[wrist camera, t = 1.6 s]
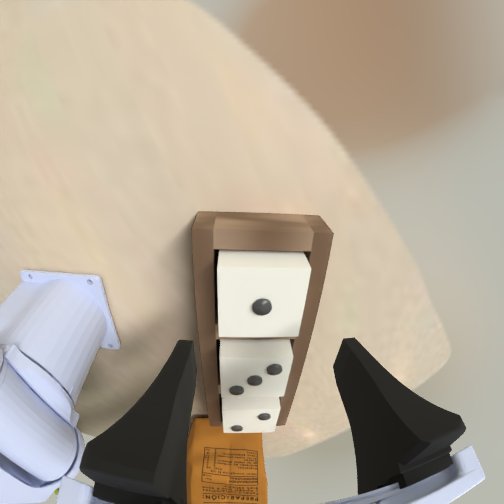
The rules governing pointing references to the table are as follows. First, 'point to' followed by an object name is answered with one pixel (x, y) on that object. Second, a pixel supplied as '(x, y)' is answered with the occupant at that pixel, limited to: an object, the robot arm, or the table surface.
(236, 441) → the coffee package
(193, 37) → the table surface
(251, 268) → the tile one
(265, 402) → the tile two
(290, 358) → the tile three
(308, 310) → the tile board
